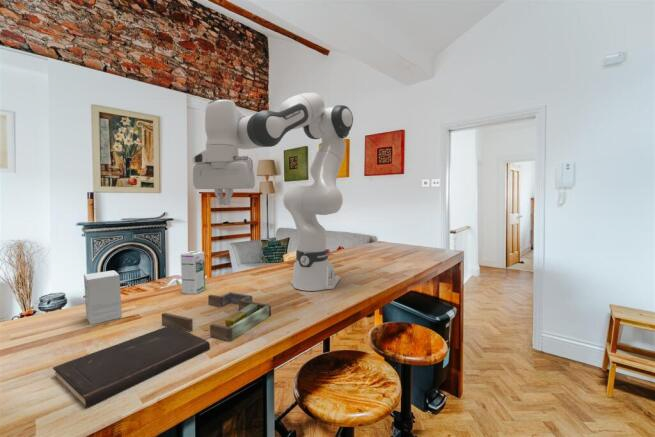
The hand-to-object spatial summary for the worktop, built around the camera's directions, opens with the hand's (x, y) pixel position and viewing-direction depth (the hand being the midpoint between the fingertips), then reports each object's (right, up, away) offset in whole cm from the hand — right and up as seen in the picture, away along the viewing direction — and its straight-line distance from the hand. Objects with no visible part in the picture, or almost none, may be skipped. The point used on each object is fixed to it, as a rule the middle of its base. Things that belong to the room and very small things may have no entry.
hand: (224, 204), depth 87 cm
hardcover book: (-9, -35, -25) cm, 44 cm away
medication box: (+7, -33, -7) cm, 35 cm away
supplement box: (-33, -32, -3) cm, 46 cm away
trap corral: (+1, -32, -2) cm, 32 cm away
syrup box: (-19, -31, +21) cm, 42 cm away
